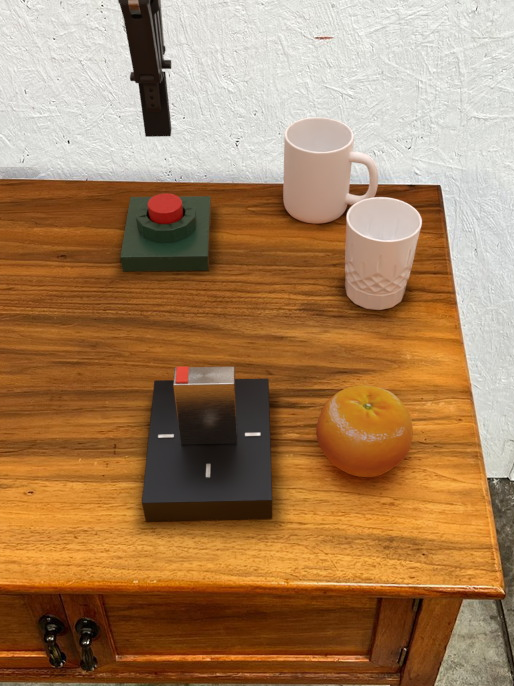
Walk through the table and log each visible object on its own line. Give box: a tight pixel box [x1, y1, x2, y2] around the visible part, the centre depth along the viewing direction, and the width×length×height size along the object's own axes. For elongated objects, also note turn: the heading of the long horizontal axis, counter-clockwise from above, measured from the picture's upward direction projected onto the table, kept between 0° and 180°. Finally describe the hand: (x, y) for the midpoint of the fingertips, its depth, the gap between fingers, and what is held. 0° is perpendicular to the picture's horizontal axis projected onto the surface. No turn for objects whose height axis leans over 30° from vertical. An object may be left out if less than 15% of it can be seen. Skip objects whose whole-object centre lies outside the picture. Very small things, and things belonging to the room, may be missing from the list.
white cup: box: [344, 196, 423, 311], centre depth 85 cm, size 8×8×10 cm
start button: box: [148, 192, 183, 224], centre depth 91 cm, size 4×4×2 cm
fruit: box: [315, 384, 414, 478], centre depth 70 cm, size 8×8×8 cm
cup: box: [282, 116, 379, 225], centre depth 96 cm, size 8×12×10 cm
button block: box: [119, 195, 212, 273], centre depth 93 cm, size 12×10×4 cm
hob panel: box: [141, 378, 274, 523], centre depth 71 cm, size 14×11×3 cm
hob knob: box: [173, 366, 237, 445], centre depth 67 cm, size 5×2×8 cm, turn 92°
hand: (158, 132), depth 84 cm, fingers closed
